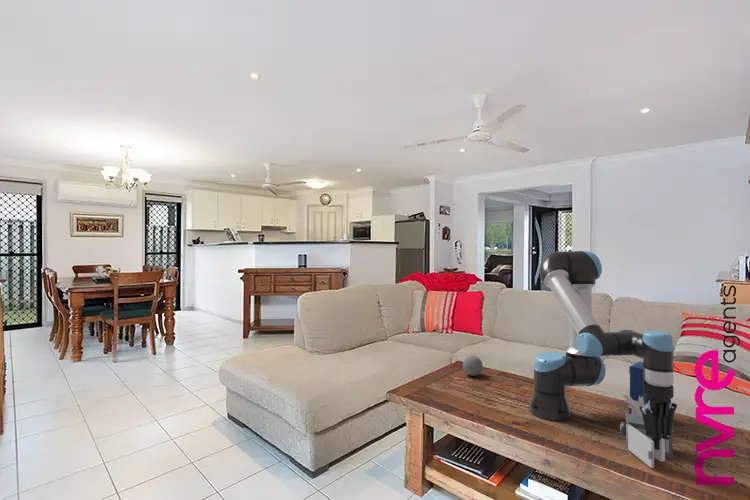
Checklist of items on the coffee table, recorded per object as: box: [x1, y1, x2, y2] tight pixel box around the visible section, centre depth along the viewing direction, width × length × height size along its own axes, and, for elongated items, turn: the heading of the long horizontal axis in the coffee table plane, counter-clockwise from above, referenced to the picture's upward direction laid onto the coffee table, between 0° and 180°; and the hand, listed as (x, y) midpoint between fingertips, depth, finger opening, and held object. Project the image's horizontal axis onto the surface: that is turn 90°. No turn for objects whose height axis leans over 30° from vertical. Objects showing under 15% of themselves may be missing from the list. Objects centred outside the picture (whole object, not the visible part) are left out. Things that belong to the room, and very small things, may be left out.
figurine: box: [623, 394, 645, 416], centre depth 148 cm, size 11×8×12 cm
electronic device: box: [628, 361, 647, 414], centre depth 156 cm, size 10×5×20 cm, turn 127°
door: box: [625, 424, 655, 469], centre depth 125 cm, size 12×2×8 cm, turn 1°
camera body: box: [619, 413, 674, 458], centre depth 132 cm, size 14×7×10 cm, turn 63°
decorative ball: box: [462, 355, 484, 377], centre depth 203 cm, size 10×10×10 cm
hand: (658, 458), depth 122 cm, fingers closed
